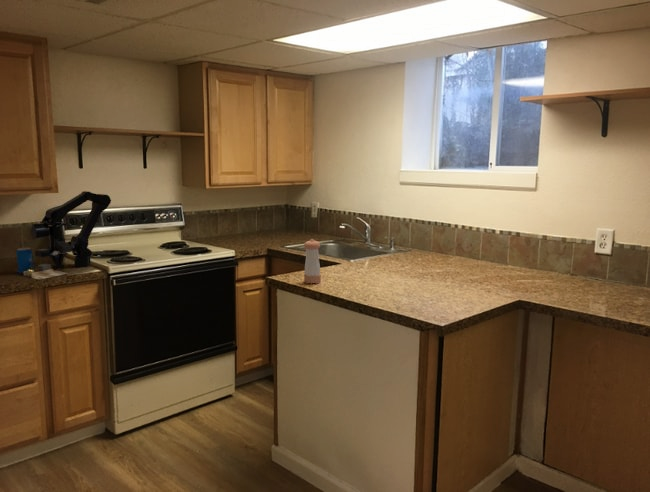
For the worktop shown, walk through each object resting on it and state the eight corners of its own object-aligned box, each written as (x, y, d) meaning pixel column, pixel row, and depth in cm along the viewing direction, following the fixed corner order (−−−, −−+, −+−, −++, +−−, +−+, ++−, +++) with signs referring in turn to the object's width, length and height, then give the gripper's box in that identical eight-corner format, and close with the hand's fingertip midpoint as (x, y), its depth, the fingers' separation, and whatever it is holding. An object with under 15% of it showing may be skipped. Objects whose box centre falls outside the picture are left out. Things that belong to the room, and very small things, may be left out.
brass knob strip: (29, 275, 253) (28, 268, 253) (35, 276, 251) (34, 270, 250) (25, 276, 252) (24, 269, 251) (31, 277, 249) (30, 270, 249)
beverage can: (27, 275, 257) (24, 250, 255) (15, 275, 258) (12, 249, 256) (37, 272, 263) (34, 247, 261) (25, 271, 265) (22, 247, 263)
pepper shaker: (310, 285, 239) (309, 241, 235) (300, 281, 245) (300, 238, 241) (323, 282, 243) (323, 239, 240) (314, 279, 249) (314, 237, 245)
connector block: (46, 271, 260) (46, 263, 259) (51, 273, 258) (50, 264, 257) (38, 273, 257) (37, 265, 256) (43, 274, 255) (42, 266, 254)
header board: (52, 271, 265) (51, 265, 264) (68, 275, 258) (68, 268, 257) (23, 277, 253) (22, 271, 252) (39, 281, 246) (38, 274, 245)
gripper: (46, 240, 248) (50, 274, 251) (84, 234, 263) (87, 266, 266) (32, 238, 254) (36, 271, 257) (70, 232, 269) (73, 263, 272)
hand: (59, 268), depth 263 cm, fingers closed
